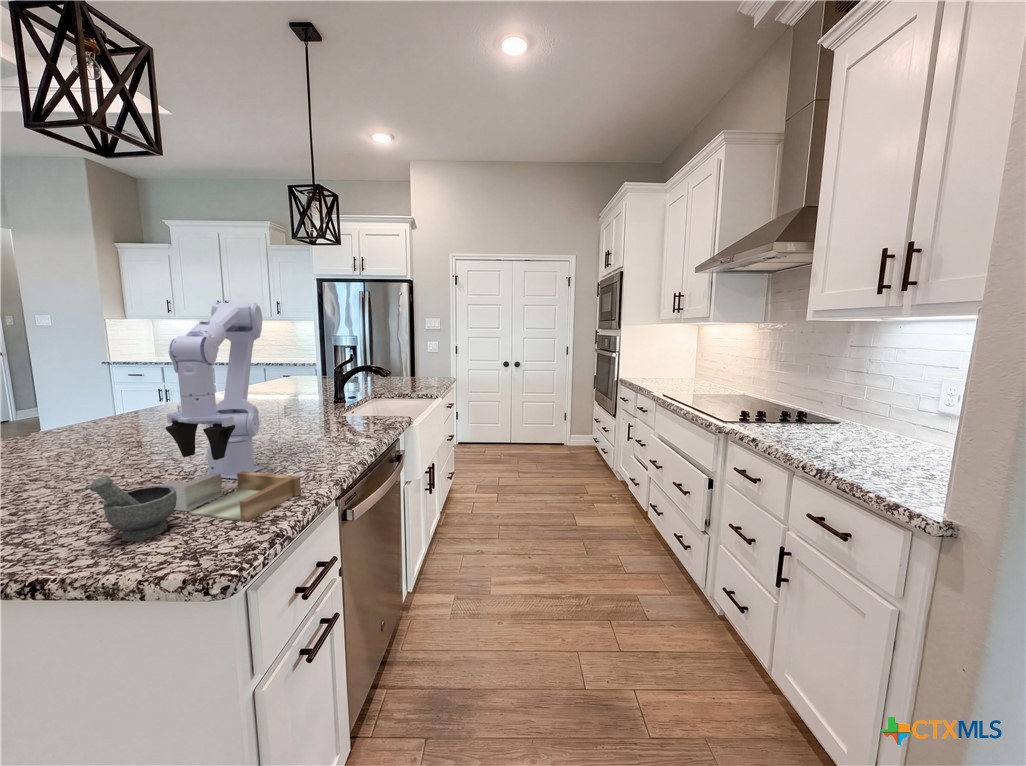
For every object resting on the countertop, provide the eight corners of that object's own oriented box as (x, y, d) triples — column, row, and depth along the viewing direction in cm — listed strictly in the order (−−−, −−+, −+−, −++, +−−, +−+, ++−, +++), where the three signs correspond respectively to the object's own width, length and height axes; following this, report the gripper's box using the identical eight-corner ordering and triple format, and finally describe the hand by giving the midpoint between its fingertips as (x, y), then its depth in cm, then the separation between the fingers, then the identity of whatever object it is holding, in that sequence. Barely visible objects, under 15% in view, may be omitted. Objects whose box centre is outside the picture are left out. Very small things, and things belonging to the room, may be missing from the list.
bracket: (187, 511, 81) (184, 487, 80) (161, 508, 82) (158, 484, 81) (222, 495, 88) (220, 473, 88) (198, 492, 90) (196, 471, 89)
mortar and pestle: (163, 515, 79) (157, 456, 77) (191, 525, 75) (184, 464, 73) (85, 542, 69) (75, 476, 67) (111, 556, 65) (102, 486, 63)
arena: (186, 514, 80) (184, 494, 79) (243, 487, 93) (242, 471, 92) (251, 522, 77) (249, 502, 76) (300, 493, 90) (299, 476, 89)
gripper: (148, 395, 81) (156, 460, 82) (209, 398, 78) (215, 466, 80) (183, 390, 87) (189, 450, 89) (240, 393, 85) (245, 455, 87)
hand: (203, 457), depth 85 cm, fingers open, 7 cm apart
